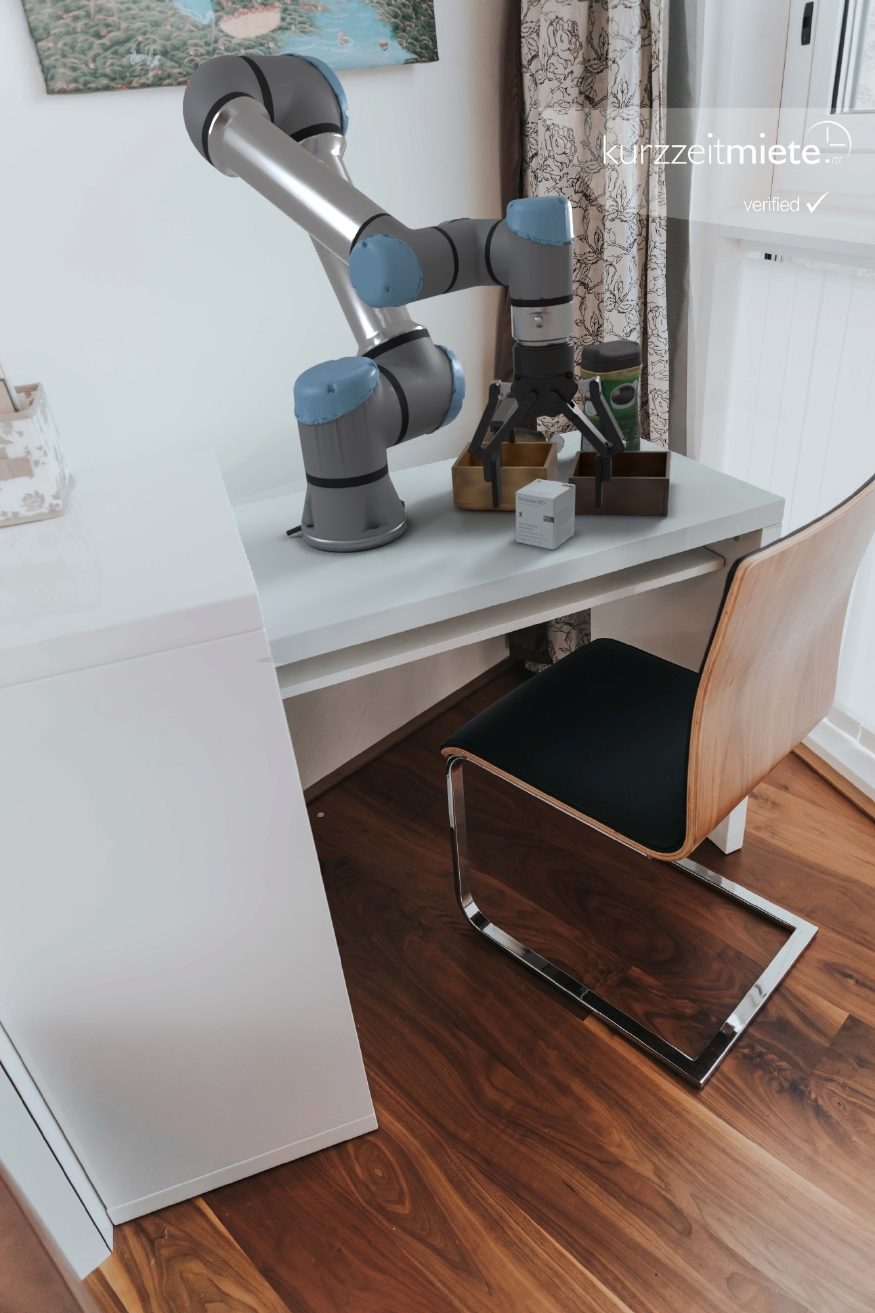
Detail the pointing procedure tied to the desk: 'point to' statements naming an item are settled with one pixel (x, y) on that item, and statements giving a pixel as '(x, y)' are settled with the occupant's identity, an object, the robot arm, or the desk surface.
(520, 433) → the eagle figurine
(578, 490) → the dark brown wooden box
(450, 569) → the desk surface
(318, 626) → the desk surface
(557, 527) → the product carton
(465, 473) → the box
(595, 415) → the coffee jar
